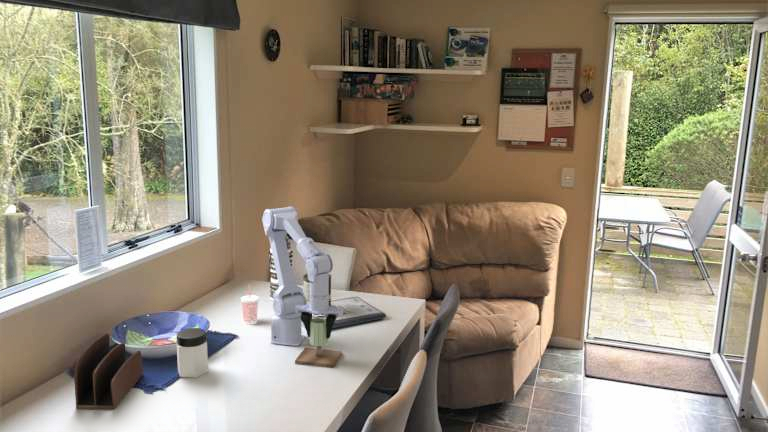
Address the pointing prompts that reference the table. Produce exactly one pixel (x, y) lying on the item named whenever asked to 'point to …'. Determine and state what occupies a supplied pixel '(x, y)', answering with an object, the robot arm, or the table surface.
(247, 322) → the beverage cup
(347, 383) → the table surface
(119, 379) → the letter holder
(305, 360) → the spool holder
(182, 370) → the jar
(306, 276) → the coffee can
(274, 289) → the decorative candle
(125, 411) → the table surface
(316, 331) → the green segmented tube
